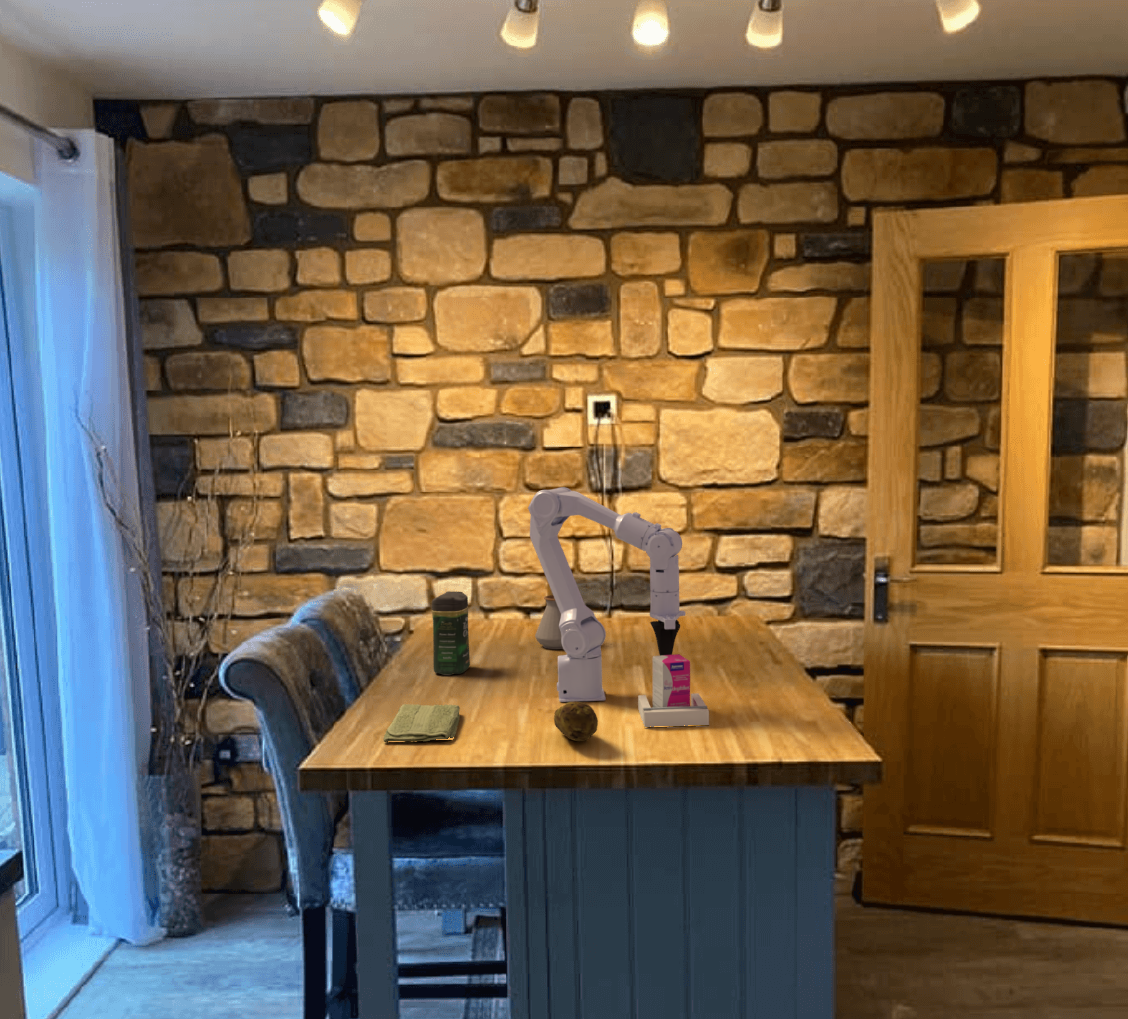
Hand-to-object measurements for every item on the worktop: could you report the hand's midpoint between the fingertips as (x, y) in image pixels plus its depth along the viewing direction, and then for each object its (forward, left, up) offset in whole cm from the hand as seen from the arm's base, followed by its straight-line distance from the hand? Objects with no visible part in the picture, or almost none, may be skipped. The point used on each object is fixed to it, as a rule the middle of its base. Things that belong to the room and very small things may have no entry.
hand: (665, 657), depth 187 cm
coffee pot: (-21, +60, -10) cm, 64 cm away
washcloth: (-47, -10, -10) cm, 49 cm away
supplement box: (0, -7, -10) cm, 12 cm away
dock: (0, -8, -10) cm, 13 cm away
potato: (-19, -20, -10) cm, 29 cm away
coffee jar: (-46, +33, -10) cm, 57 cm away
